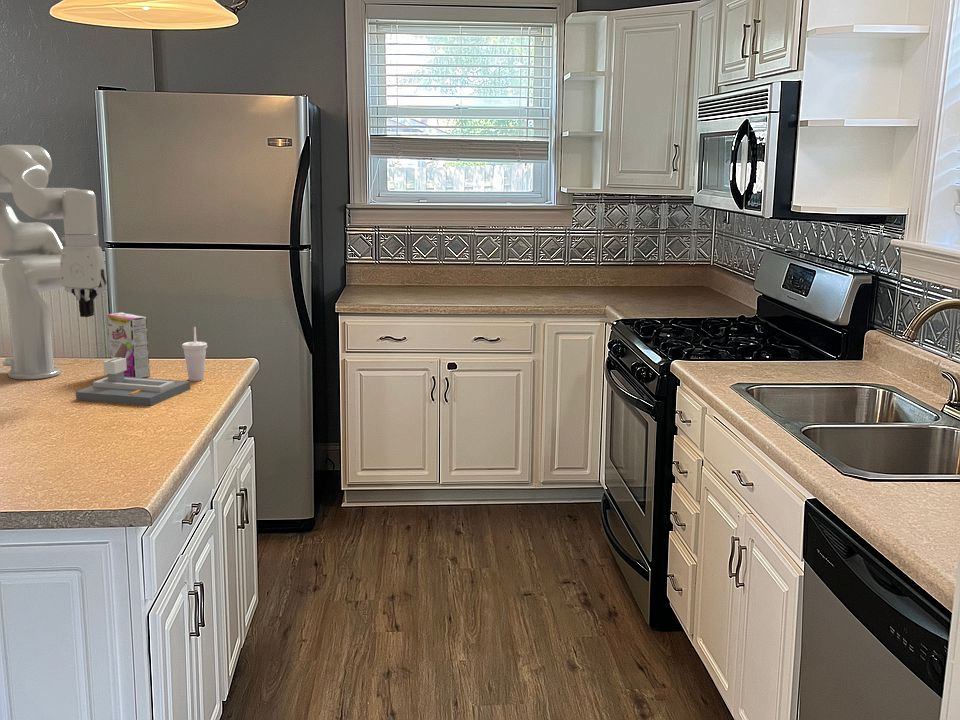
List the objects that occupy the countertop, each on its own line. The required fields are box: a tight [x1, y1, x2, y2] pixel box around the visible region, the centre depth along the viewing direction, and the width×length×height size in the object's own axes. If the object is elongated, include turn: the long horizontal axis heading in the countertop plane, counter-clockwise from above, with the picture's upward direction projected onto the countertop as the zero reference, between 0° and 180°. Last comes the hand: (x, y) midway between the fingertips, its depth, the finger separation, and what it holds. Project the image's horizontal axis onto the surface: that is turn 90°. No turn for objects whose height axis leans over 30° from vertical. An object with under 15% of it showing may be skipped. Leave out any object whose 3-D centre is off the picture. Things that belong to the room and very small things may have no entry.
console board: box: [75, 376, 191, 407], centre depth 236 cm, size 20×18×3 cm
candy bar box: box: [106, 312, 151, 378], centre depth 255 cm, size 11×5×16 cm, turn 54°
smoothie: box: [181, 326, 208, 382], centre depth 252 cm, size 6×6×14 cm
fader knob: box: [103, 357, 127, 383], centre depth 236 cm, size 3×5×6 cm, turn 167°
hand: (87, 316), depth 235 cm, fingers closed
